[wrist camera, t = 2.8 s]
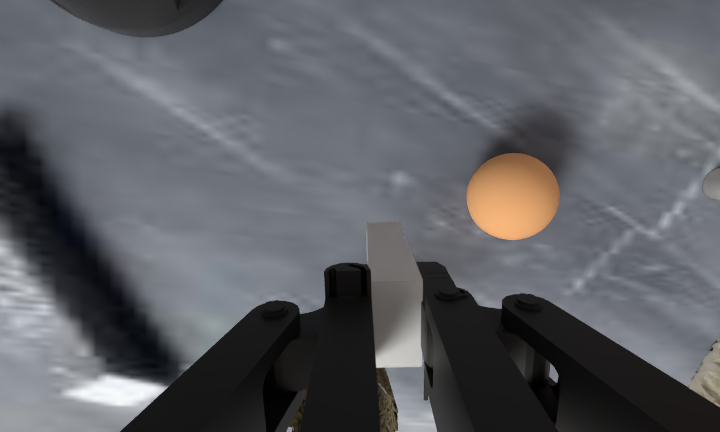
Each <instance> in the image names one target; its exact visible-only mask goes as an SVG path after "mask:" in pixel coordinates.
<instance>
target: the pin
mask: <svg viewBox="0 0 720 432" xmlns="http://www.w3.org/2000/svg"><path fill="white" fill-rule="evenodd" d="M702 188H703V192H704V194H705V195H706V196H707V197H709V198H711V199H716V200H720V168H718V169H715V170H713V171H711V172H710V173H709V174H708V175H707V176H706V177H705V179H704V181H703V186H702Z"/></svg>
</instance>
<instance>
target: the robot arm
mask: <svg viewBox="0 0 720 432" xmlns="http://www.w3.org/2000/svg"><path fill="white" fill-rule="evenodd" d="M50 1H52V2H53V3H54V4H56V5H57V6H59V7H60V8H62V9H63V10H65V11H66V12H68V13H70V14H72V15H73V16H75V17H77V18H79V19H81V20H83V21H85V22H88V23H90V24H93V25H96V26H98V27H101V28H104V29H107V30H110V31H113V32H116V33H119V34H123V35H128V36H135V37H158V36H165V35H169V34H173V33H176V32H179V31H182V30H184V29H186V28H188V27H190V26H192V25H194V24H196V23H197V22H199V21H200V20H202V19H203V18H204V17H206V16H207V15H208V14H209V13H210V12H211V11H212V10H213V9H214V8H215V7H216V6H217V5H218V4H219V3H220V2H221V0H50ZM366 234H367V264H359V263H340V264H336V265H332V266H330V267H328V268H326V270H325V271H324V278H325V298H326V299H325V304H324V307H323V308H321V309H319V310H316V311H313V312H309V313H304V314H300V312H299V308H298V306H297V305H296V304H294V303H292V302H287V301H278V300H276V301H273V302H272V301H269V302H266V303H265V304H262V305H259V306H257V307H256V308H254V309H253V310H251V311H250V312H249V313H248V314H247V315H246V316H245V317H244V318H243V319H242V320H241V321H240V322H238V323H237V324H236V325H235V326H234V327H233V328H232V329H231V330H230V331H229V332H228V333H227V334H225V335H224V336H223V337H222V338H221V339H220V340H219V341H218V342H217V343H216V344H215V345H214V346H212V347H211V348H210V349H209V350H208V351H207V352H206V353H205V354H204V355H203V356H202V357H201V358H199V359H198V360H197V361H196V362H195V363H194V364H193V365H192V366H191V367H190V368H189V369H188V370H186V371H185V372H184V373H183V374H182V375H181V376H180V377H179V378H178V379H177V380H176V381H175V382H173V383H172V384H171V385H170V386H169V387H168V388H167V389H166V390H165V391H164V392H163V393H162V394H160V395H159V396H158V397H157V398H156V399H155V400H154V401H153V402H152V403H151V404H150V405H148V406H147V407H146V408H145V409H144V410H143V411H142V412H141V413H140V414H139V415H138V416H137V417H135V418H134V419H133V420H132V421H131V422H130V423H129V424H128V425H127V426H126V427H125V428H124V429H122V430H121V431H120V432H286V431H287V429H288V427H289V425H290V423H291V422H292V420H293V418H294V416H295V414H296V412H297V411H298V409H299V407H300V405H301V403H302V402H303V400H304V396H305V389H308V390H307V395H306V400H305V406H304V411H303V416H302V421H301V426H300V431H299V432H380V417H379V402H378V387H377V372H376V368H384V367H422V353H423V357H424V400H428V395H429V399H430V403H431V407H432V411H433V415H434V419H435V423H436V428H437V432H720V407H719V406H717V405H716V404H714V403H712V402H711V401H709V400H708V399H706V398H704V397H703V396H701V395H699V394H698V393H696V392H695V391H693V390H691V389H690V388H688V387H687V386H685V385H683V384H682V383H680V382H678V381H677V380H675V379H674V378H672V377H670V376H669V375H667V374H666V373H664V372H662V371H661V370H659V369H657V368H656V367H654V366H653V365H651V364H649V363H648V362H646V361H645V360H643V359H641V358H640V357H638V356H636V355H635V354H633V353H632V352H630V351H628V350H627V349H625V348H624V347H622V346H620V345H619V344H617V343H615V342H614V341H612V340H611V339H609V338H607V337H606V336H604V335H603V334H601V333H599V332H598V331H596V330H595V329H593V328H591V327H590V326H588V325H586V324H585V323H583V322H582V321H580V320H578V319H577V318H575V317H574V316H572V315H570V314H569V313H567V312H565V311H564V310H562V309H561V308H559V307H557V306H556V305H554V304H553V303H551V302H549V301H547V300H545V299H543V298H540V297H536V296H534V295H532V294H527V295H526V294H522V293H521V294H515V295H510V296H506V297H505V298H504V299H503V300H502V309H496V308H488V307H483V306H479V305H478V304H477V303H476V301H475V299H474V298H473V296H472V295H471V294H470V293H469V292H468V291H466V290H464V289H461V288H457V287H456V286H455V284H454V282H453V280H452V279H451V277H450V275H449V274H448V272H447V270H446V268H445V267H444V266H443V265H441V264H439V263H437V262H416V261H415V259H414V256H413V254H412V251H411V249H410V246H409V243H408V241H407V238H406V236H405V233H404V231H403V228H402V226H401V223H400V222H375V223H366ZM550 363H551V364H552V365H553V366H554V367H555V369H556V371H557V373H558V375H559V377H558V382H557V383H556V382H554V381H553V380H552V379H551V378H550V377H549V372H550Z"/></svg>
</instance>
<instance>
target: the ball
mask: <svg viewBox="0 0 720 432" xmlns="http://www.w3.org/2000/svg"><path fill="white" fill-rule="evenodd" d="M559 195H560V193H559V186H558V183H557V180H556V178H555V176H554V174H553V173H552V171H551V170H550V169H549V168H548V167H547V166H546V165H545V164H544V163H543V162H541V161H540V160H538V159H536V158H534V157H532V156H529V155H526V154H521V153H507V154H502V155H499V156H496V157H493V158H491V159H489V160H488V161H486V162H485V163H483V164H482V165H481V166H480V167H479V168H478V169H477V170H476V172H475V173H474V174H473V176H472V178H471V180H470V182H469V185H468V189H467V206H468V209H469V212H470V214H471V217H472V218H473V220H474V221H475V223H476V224H477V225H478V226H479V227H480V228H481V229H482V230H484V231H485V232H487V233H488V234H490V235H492V236H495V237H498V238H501V239H507V240H516V239H523V238H527V237H530V236H532V235H534V234H536V233H538V232H540V231H541V230H542V229H544V228H545V227H546V226H547V225H548V224H549V223H550V221H551V220H552V219H553V217H554V215H555V213H556V211H557V208H558V205H559Z"/></svg>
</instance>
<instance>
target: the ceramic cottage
mask: <svg viewBox="0 0 720 432" xmlns="http://www.w3.org/2000/svg"><path fill="white" fill-rule="evenodd" d="M712 347H713V350H712V351H709V353H708V354H707V355H706V357H705V358H704V360H703V363H702V365H701V366H700V368H699V369H698V373H695V374H694V375H693V376H694V378H692V379H693V380H691V382H690V384H689V387H688V388H690V389H691V390H693V391H695V392H696V393H698V394H699V395H701V396H703V397H704V398H706V399H708V400H709V401H711V402H712V403H714V404H716V405H717V406H719V407H720V336H719V337H718V338H717V343H715V344H714V345H713V346H712Z"/></svg>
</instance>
